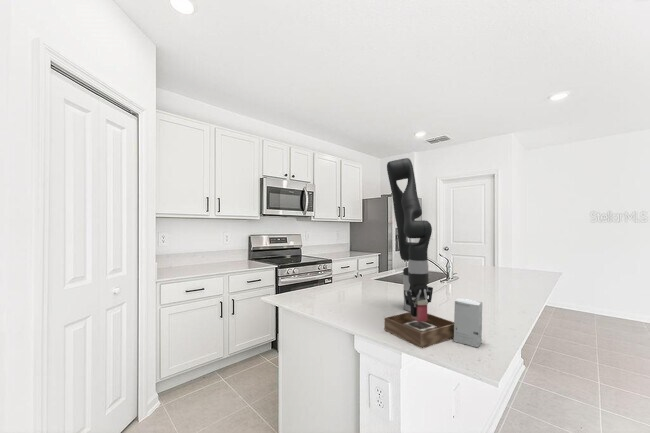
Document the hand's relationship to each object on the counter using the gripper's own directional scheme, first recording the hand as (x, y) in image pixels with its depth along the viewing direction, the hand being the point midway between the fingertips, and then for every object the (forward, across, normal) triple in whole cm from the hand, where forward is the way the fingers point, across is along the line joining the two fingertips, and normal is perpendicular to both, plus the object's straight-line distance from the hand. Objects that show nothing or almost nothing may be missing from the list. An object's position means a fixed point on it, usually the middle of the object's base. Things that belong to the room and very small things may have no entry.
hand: (419, 314), depth 110 cm
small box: (+2, 0, 0) cm, 2 cm away
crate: (+7, 0, 0) cm, 7 cm away
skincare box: (+7, -9, +15) cm, 19 cm away
